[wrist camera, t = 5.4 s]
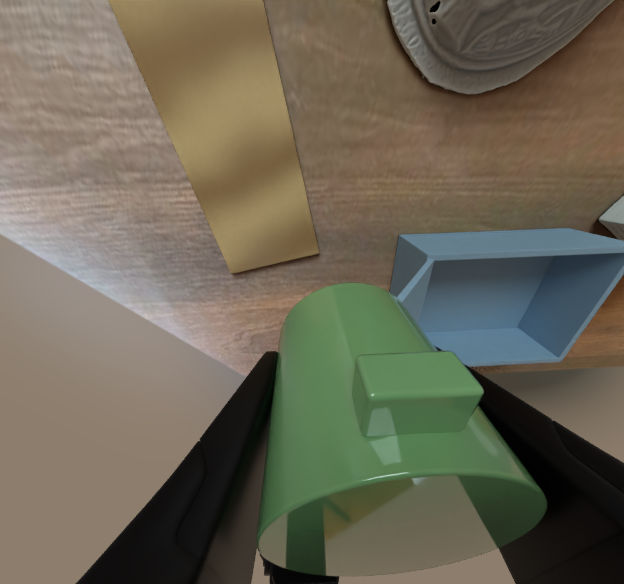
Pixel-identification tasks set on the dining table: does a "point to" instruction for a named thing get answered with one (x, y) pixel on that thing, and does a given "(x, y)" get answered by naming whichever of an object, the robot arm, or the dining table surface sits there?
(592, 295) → the carton
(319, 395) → the pot
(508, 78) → the turtle shell
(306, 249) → the board
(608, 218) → the white cardboard box
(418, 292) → the flap
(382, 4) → the dining table surface
